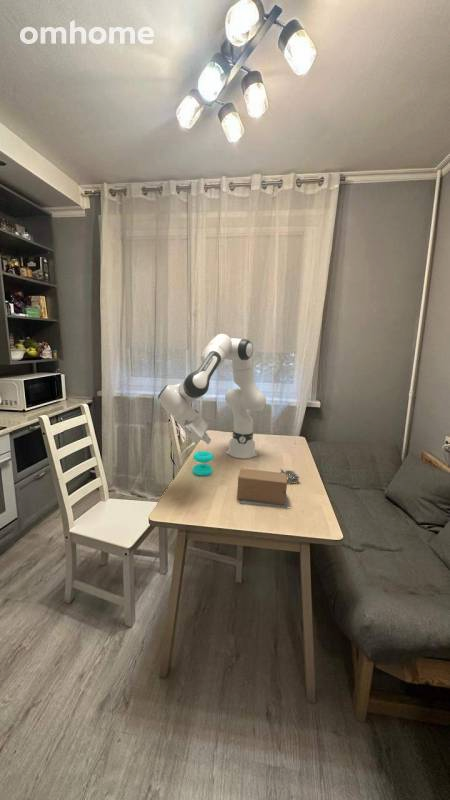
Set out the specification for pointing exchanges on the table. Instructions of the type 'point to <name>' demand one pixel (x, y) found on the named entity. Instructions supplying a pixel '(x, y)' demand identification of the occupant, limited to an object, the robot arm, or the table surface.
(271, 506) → the rubber mat
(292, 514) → the table surface
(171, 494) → the table surface
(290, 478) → the egg carton
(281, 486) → the wooden block
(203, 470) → the donuts
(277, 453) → the table surface
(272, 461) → the table surface
